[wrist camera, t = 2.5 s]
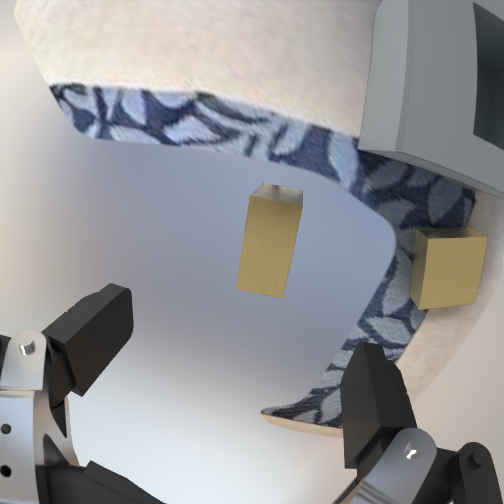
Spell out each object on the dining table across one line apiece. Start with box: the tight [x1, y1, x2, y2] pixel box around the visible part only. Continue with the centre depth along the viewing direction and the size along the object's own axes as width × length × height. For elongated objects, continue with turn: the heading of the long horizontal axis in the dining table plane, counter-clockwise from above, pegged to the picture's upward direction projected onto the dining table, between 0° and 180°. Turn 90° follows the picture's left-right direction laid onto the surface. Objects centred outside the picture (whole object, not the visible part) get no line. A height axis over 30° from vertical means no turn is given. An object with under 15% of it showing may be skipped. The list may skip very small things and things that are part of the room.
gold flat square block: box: [236, 183, 303, 298], centre depth 20 cm, size 6×3×6 cm, turn 171°
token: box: [409, 227, 487, 310], centre depth 20 cm, size 6×6×3 cm
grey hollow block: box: [358, 0, 504, 199], centre depth 12 cm, size 12×12×10 cm
